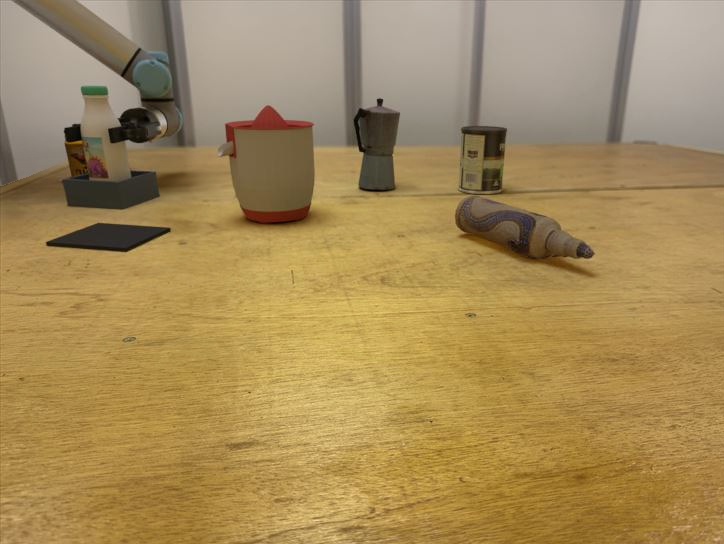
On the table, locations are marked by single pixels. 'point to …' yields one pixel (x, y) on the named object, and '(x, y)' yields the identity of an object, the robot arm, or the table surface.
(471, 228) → the decorative bottle
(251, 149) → the citrus juicer
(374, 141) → the moka pot
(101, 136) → the milk bottle
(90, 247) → the mat
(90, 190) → the bin
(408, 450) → the table surface
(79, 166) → the condiment
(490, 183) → the coffee can
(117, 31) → the robot arm
